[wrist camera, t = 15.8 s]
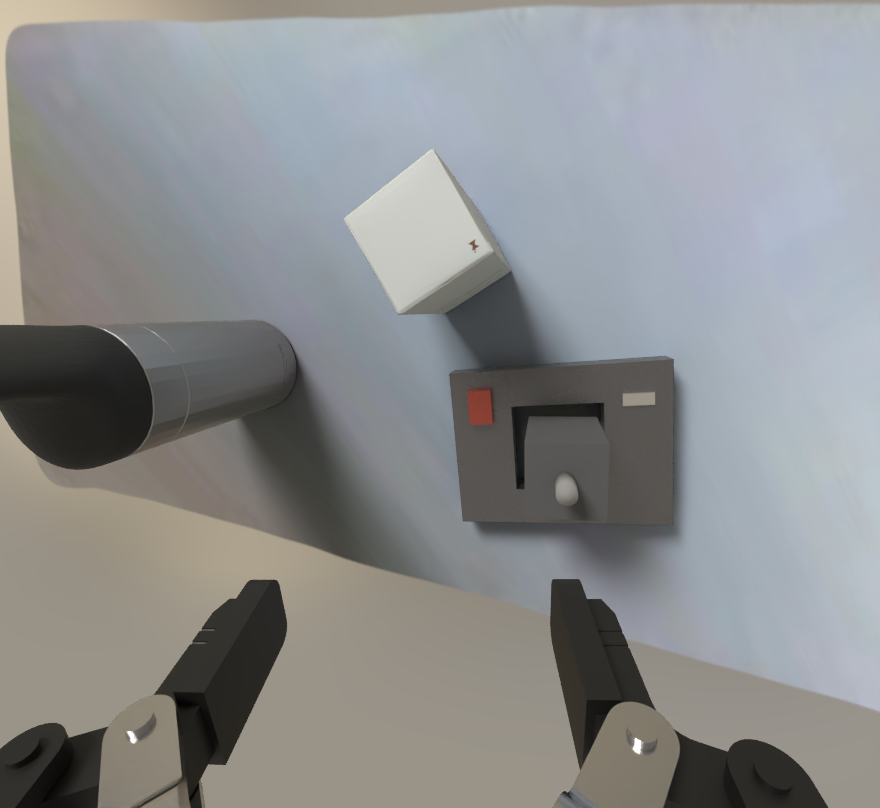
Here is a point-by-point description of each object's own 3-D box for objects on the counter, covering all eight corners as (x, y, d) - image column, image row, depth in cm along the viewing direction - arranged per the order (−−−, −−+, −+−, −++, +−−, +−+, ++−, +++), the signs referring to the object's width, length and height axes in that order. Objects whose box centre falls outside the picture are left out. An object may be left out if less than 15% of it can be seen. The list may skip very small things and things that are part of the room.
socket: (467, 509, 44) (461, 525, 40) (455, 370, 41) (447, 375, 38) (665, 511, 39) (675, 529, 36) (665, 356, 37) (676, 360, 33)
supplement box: (471, 196, 38) (435, 142, 26) (513, 272, 38) (497, 254, 26) (402, 245, 40) (339, 216, 28) (442, 316, 40) (398, 318, 28)
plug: (529, 468, 41) (522, 532, 29) (529, 410, 40) (522, 452, 28) (592, 471, 40) (611, 539, 28) (593, 411, 39) (615, 455, 27)
